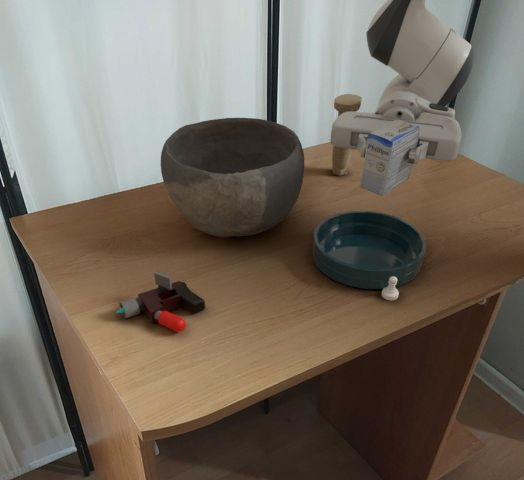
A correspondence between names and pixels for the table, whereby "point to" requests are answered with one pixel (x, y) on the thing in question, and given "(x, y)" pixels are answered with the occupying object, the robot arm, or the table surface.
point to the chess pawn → (391, 290)
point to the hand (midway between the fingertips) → (389, 156)
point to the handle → (339, 154)
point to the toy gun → (164, 303)
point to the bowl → (233, 174)
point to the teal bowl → (368, 249)
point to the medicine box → (388, 156)
